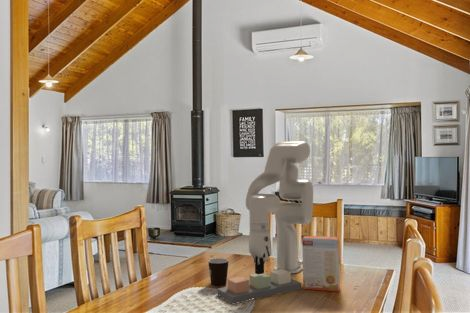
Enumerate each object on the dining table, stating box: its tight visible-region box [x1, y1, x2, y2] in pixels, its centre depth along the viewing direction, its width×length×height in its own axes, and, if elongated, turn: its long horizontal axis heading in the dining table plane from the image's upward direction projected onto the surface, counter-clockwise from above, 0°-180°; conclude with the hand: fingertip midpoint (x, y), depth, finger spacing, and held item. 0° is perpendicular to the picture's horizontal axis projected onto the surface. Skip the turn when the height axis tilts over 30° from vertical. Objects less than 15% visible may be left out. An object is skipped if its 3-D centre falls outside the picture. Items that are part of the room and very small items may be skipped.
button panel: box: [216, 278, 302, 304], centre depth 173 cm, size 32×12×2 cm, turn 120°
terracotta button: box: [227, 276, 250, 294], centre depth 167 cm, size 6×6×5 cm
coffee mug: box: [207, 257, 229, 288], centre depth 185 cm, size 12×9×10 cm
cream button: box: [269, 269, 292, 285], centre depth 178 cm, size 6×6×5 cm
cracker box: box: [301, 235, 340, 293], centre depth 175 cm, size 14×6×21 cm, turn 71°
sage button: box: [249, 272, 271, 289], centre depth 173 cm, size 6×6×5 cm
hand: (259, 273), depth 172 cm, fingers closed
